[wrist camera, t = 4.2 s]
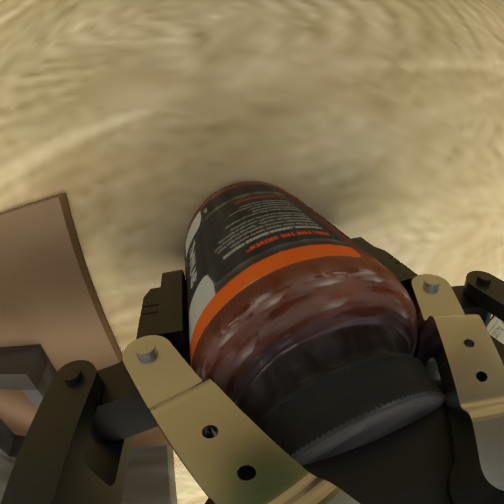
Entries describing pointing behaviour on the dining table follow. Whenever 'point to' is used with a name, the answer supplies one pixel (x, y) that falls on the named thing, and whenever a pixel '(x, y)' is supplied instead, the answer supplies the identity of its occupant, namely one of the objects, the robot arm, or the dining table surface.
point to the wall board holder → (58, 338)
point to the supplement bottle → (300, 325)
